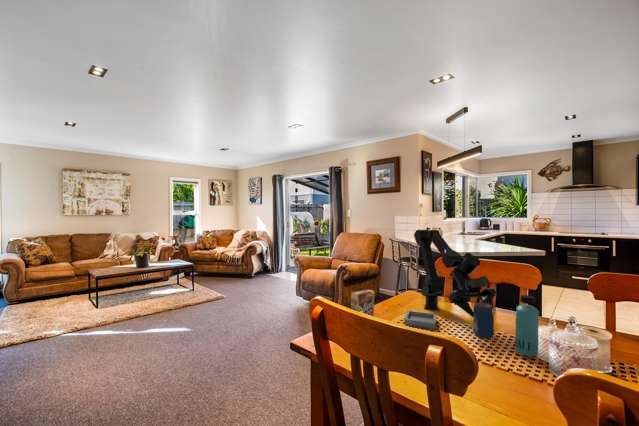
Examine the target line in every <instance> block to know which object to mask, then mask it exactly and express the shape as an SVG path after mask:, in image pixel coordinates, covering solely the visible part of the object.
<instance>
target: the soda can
mask: <svg viewBox="0 0 639 426" xmlns="http://www.w3.org/2000/svg"><path fill="white" fill-rule="evenodd" d="M472 311H473V313H474V317H472V319H473V320H472V332H473V333H474V335H475V337H477V338H480V339H485V340H490V339H492V338H493V336H494V335H495V333H494V332H495V330H494V329H495V328H494V326H495V315H494V312H495V308H494V309H493V307H492V305H491V304H488V303H483V302H482V301H480V302H478V301H477V302H475V303H474V306H473V309H472Z"/></svg>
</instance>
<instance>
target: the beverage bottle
mask: <svg viewBox="0 0 639 426" xmlns="http://www.w3.org/2000/svg"><path fill="white" fill-rule="evenodd" d="M519 301H520V303H522V304H519V305H517V306H516V308H515V309H516V311H515V312H516V313H515V324H514V325H515V331H514V333H515V337H514V342H515V343H514V347H515V348H514V349H515V351H516V352H517V353H519V354H521V355H524V356H528V357H537V356H538V355H539V321H540V320H539V318H540V315H539V314H540V311H539V309H538V308H536V307H535V306H534V305H535V304H536V298H535V296H532V295H529V294H528V295H527V294H522V295H520V299H519Z"/></svg>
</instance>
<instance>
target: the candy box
mask: <svg viewBox="0 0 639 426" xmlns="http://www.w3.org/2000/svg"><path fill="white" fill-rule="evenodd" d="M350 293H351V297H350V310H351V309H353V310H356V311H363V313H365V314H368V315H371V316H374V314H375V311H374V309H375V291H374V290H371V289H362V290H358V291H357V290H356V291H351V292H350Z"/></svg>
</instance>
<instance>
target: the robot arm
mask: <svg viewBox="0 0 639 426" xmlns="http://www.w3.org/2000/svg"><path fill="white" fill-rule="evenodd" d="M413 237H414V240H415V243H416V244H417V246H418V247H419V248H420V251H421V257H422V261H423V266H424V270H425V274H426V275H425V278H424V280H423V281H424V286H423V287H422V288H421V290H420V293H421V295H422V296H423V297H425V298H424V299H425V302H424V303H425V304H424V309H425V310H430V311H439V308H440V307H439V297H443V294H444V291H445V284H444V279H443V277H442V276H439V275H438V273H437V269H436V265H435V260H434V255H433V250H432V247H431V246H432V243H433V245H434V247H435V248H436V249H437V251H438V252H439V254H440V255H441V261H442V263H443V265H444V266H445V268H446V269H451V270H450V273H449V277H451V278H452V277H453V278H454V279H455V281H456V283H457V285H456V287H457V288H456V289H455V290H453V291H452V292H451V293H450V294H449V295H448V300H449V302H450V304H453V305H454V306H457V307H458V308H460V309H462V310H463V311H464V312H466V313H467V314H468V315H469V316H470V317H471V318H473V317H474V313H473V309H472V307H471V306H470V305H471V304H470V303H469V300H468V299H474V298H478V299H480V300H481V302H483V303H488V304H491V305H492V307H493V309H494V310H495V308H494V301H493V300H494V298H495V297H496V295H497V294H498V293H497V291H496V289H495V288H492V287H489V288H487V286H488V285H489V284H490V281H489V278H488V277H487V275H485V276H480V277H476V278H472V276H470V274H473V273H474V272H475V270H477V269H478V268H479V266H480V265H481V261H480V259H479V258H478V257H477V256H475V255H473V254H471V252H465V253H464V255H463V256H462V255H461V254H460V253H459V252H457V250H454V249H453V248H451V246H450V245H449V243H448V242H447V241H446V240H445V238H443V236H442V235H441V234H440V231H439V230H437V229H417V230H415V232H414V234H413ZM452 269H453V270H452ZM483 287H486V288H484V289H483V290H482V288H483ZM481 290H482V291H481ZM479 291H480V292H479ZM495 315H496V312H495V311H494V316H495Z"/></svg>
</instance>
